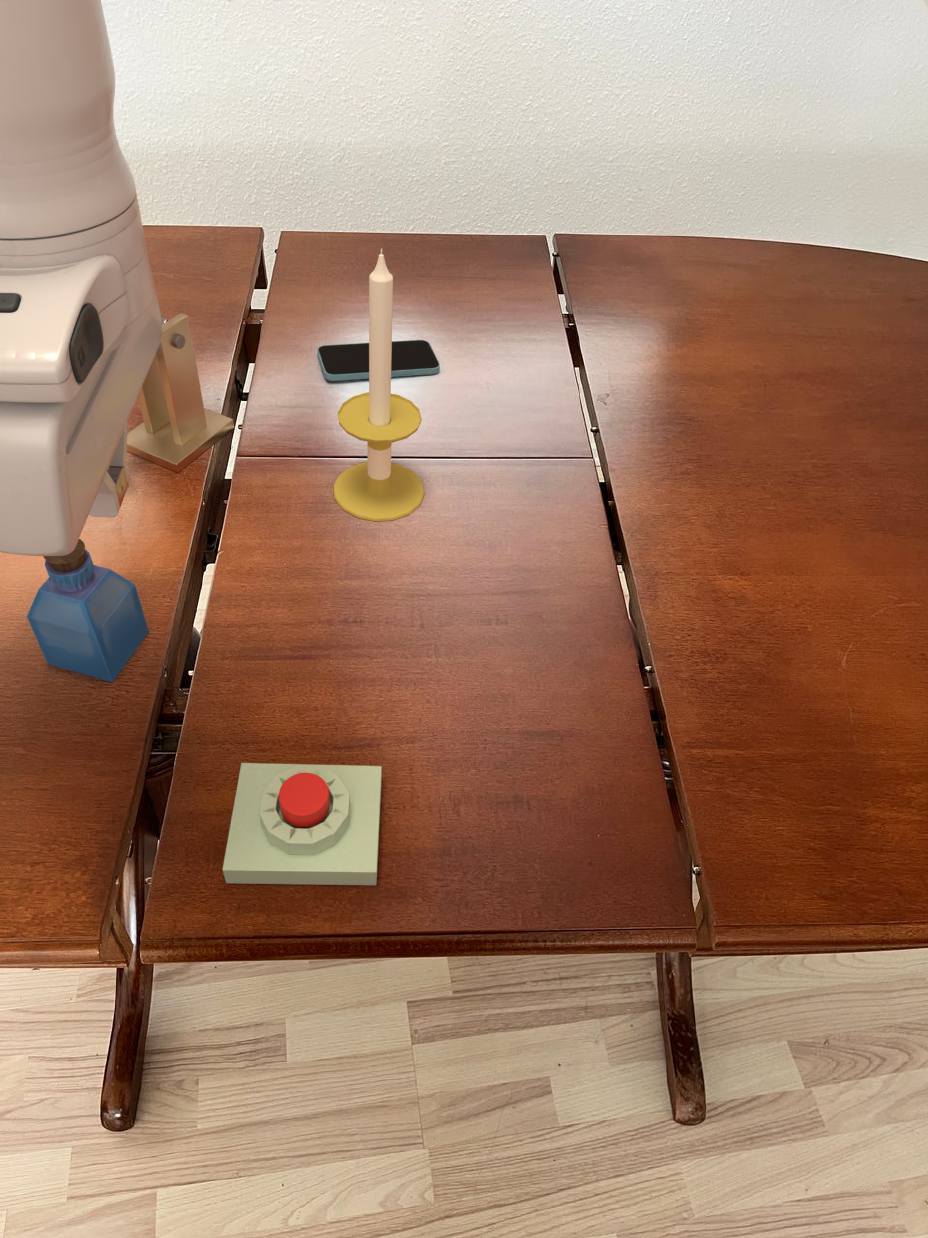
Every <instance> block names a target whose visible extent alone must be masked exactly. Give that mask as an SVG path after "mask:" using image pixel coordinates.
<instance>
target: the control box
mask: <svg viewBox="0 0 928 1238" xmlns="http://www.w3.org/2000/svg"><path fill="white" fill-rule="evenodd" d="M239 768H240V769H239V773H238V780H237V785H236V791H235V797H234V801H233V807H232V812H231V813H232V814H231V819H230V824H229V830H228V835H227V842H226V847H225V852H224V858H223V864H222V874H223V876H224V880H225V881H224V882H225V884H233V885H234V884H243V885H247V884H250V885H310V886H311V885H314V886H315V885H317V886H320V885H322V886H323V885H324V886H377V884H378V883H377V882H378V867H379V865H378V864H379V845H380V824H381V823H380V822H381V803H382V802H381V801H382V781H383V779H382V777H383V776H382V775H383V766H382V765H349V764H312V763H311V764H307V763H305V764H304V763H303V764H302V763H264V762H263V763H261V762H260V763H259V762H257V763H255V762H241V763H240V767H239ZM299 773H312V774H315V775H318V776H319V777H321V778H322V779H323V780H324V781H325V782H326V784H327V786H328V789H329V801H330V806H329V810H328V813H327V815H326V816H325V817H324V818H323V819H322V820H321V821H320V822H319V823H317V824H315V825H313V826H309V827H297V826H294V825H292V824H290V823H288V822H287V821H286V820H285V819H284V817H283V816H282V813H281V809H280V803H279V791H280V788H281V786H282V785H283V783H284V782H285V781H286V780H287V779H288V778H290V777H291V776H293V775H296V774H299Z"/></svg>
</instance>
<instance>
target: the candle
mask: <svg viewBox="0 0 928 1238" xmlns="http://www.w3.org/2000/svg"><path fill="white" fill-rule="evenodd" d="M385 259H386V258H385V255H384V254H383V248H382V247H381V248H380V254H378V258H377V262H376V265H375V268H374V270H373V271H372V272H371V273H370V274H369V275H368V276H369V277H368V343H369V378H368V391H367V392H363V393H360V394H357V395H353V396H351V397H350V398H348V399H347V400H345V401H344V402H342V404H341V405H340V407H339V408H338V411H337V418H338V425H339V426H340V427H341V428H342V429H343V430H344V432H345V433H346V434H347V435H349V436H350V437H353V438H355V439H357V440H359V441H363V442H367V444H366V445H367V449H366V450H367V461H364V462H361V463H358V464H354V465H352V466H349V467H348V468H346V469H345V470H343V471H342V472H341V473H339V474H338V476H337V478H336V479H335V482H334V484H333V487H332V488H333V496H334V500H335V502H336V503H337V504H338V506H339V507H340V508H341V509H342V511H344V512H346V513H348V514H350V515H351V516H354V517H355V518H357V519H361V520H365V521H366V520H367V521H372V522H387V521H388V522H389V521H395V520H399V519H402V518H404V517H407V516H409V515H411V514H412V513H413V512H414V511H416V510H417V509H418V508H419V507H420V506H421V505H422V502H423V500H424V498H425V495H426V494H425V488H424V485H423V481H422V480H421V479H420V478H419V476H418V475H417V474H416V473H415V472H414V471H413V470H411V469H409V468H408V467H406V466H403V465H401V464H399V463H395V462H392V444H393V443H397V442H400V441H402V440H406V439H408V438H409V437H411V436H412V435H414V434H415V433H417V431H419V428H420V425H421V423H422V420H423V419H422V415H421V411H420V408H419V407H418V406H417V405H416V404H415V403H414V402H413V401H412V400H411V399H409V398H405V397H404V396H402V395H399V394H396V393H392V377H391V356H392V341H393V305H394V303H393V301H394V299H393V298H394V297H393V296H394V275H393V274H392V273H391V272H390V271H389V269H388V267H387V263H386V260H385Z"/></svg>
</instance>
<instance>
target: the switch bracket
mask: <svg viewBox="0 0 928 1238" xmlns="http://www.w3.org/2000/svg"><path fill="white" fill-rule="evenodd" d="M190 323H191V322H190V316H189V315H188V314H186V313H182V312H180V313H178V314H176V315H175V316H173V317H172V318H169V319H168V321H167V322H165V323H164V324H162V335H161V342H160V345H159V347H158V349H157V352H156V354H155V357H154V359H153V361H152V364H151V366H150V369H149V371H148V373H147V376H146V378H145V381H144V383H143V385H142V388H141V390H140V393H139V395H138V397H137V399H138V403H139V408H140V412H141V416H142V420H143V421H142V422H141V423H140V424H138V425H136V427H134V428H133V429H131V430H130V431H129V432H127V453H129V454H132V455H134V456H136V457H139V458H141V459H144V460H146V461H147V462H150V463H153V464H155V465H158V466H160V467H162V468H164V469H166V470H170V471H172V472H175V473H177V474H179V473H180V472H181V471H182V470H184V469H185V468H186V467H188V466H189V465H190V464H191V463H193V462H194V461H195V460H196V459H197V458H199V457H200V456H201V455H202V454H204V453H205V452H206V451H207V450H209V449H210V448H211V447H212V446H214V445H215V444H216V443H217V442H219V441H220V440H221V439H222V438H223V437H225V436H226V435H227V434H228V433H230V432H231V431H232V430H234V428H235V423H234V418H231V417H228V416H226V415H224V414H221V413H218V412H216V411H213V410H211V409H209V408H205V406H204V400H203V394H202V389H201V383H200V378H199V371H198V365H197V359H196V353H195V349H194V348H195V347H194V341H193V336H192V330H191V326H190V325H191V324H190Z"/></svg>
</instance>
